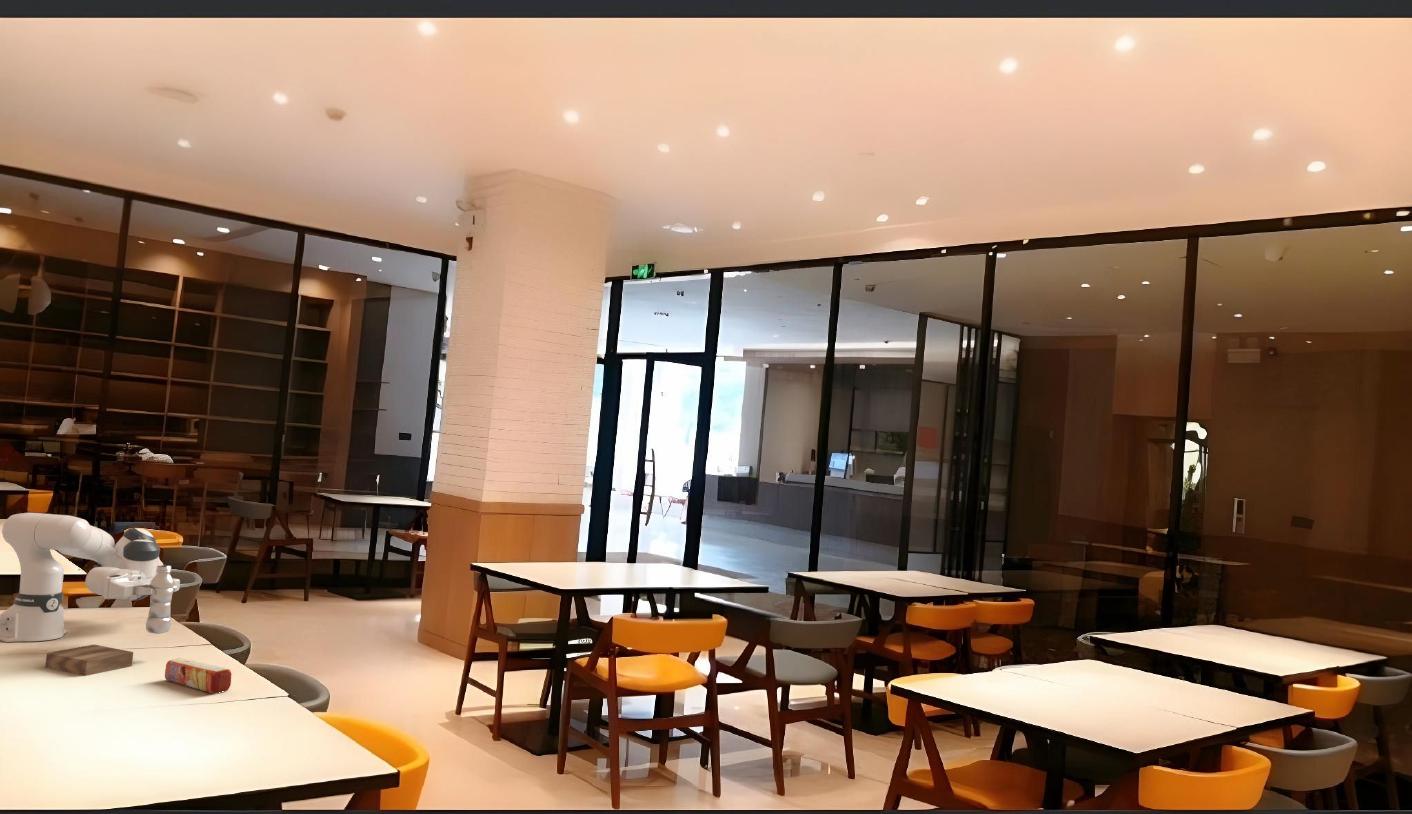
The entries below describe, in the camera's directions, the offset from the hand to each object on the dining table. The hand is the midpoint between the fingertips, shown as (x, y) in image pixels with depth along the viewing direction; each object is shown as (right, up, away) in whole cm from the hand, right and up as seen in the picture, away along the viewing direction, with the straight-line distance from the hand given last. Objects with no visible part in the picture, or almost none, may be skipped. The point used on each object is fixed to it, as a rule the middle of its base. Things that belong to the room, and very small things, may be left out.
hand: (164, 590), depth 280 cm
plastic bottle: (-2, -13, 0) cm, 13 cm away
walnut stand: (-14, -19, -12) cm, 27 cm away
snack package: (+23, -22, -24) cm, 40 cm away
